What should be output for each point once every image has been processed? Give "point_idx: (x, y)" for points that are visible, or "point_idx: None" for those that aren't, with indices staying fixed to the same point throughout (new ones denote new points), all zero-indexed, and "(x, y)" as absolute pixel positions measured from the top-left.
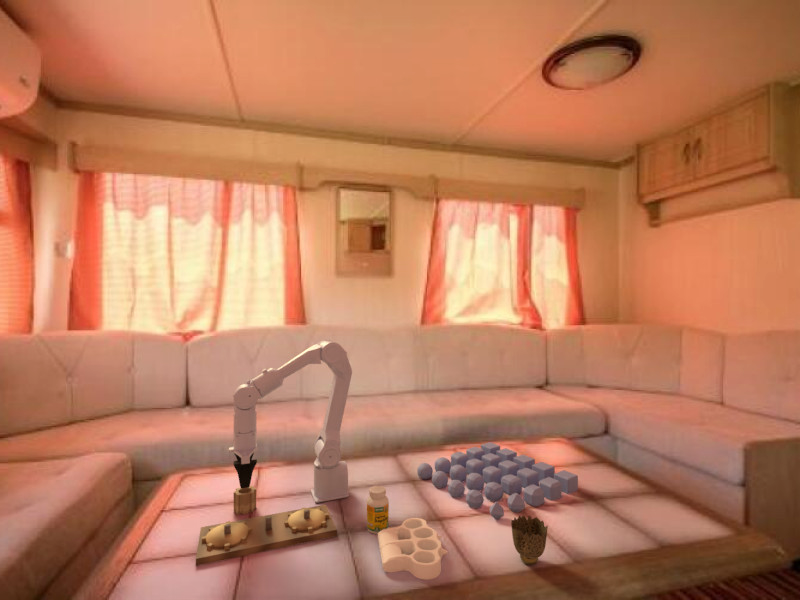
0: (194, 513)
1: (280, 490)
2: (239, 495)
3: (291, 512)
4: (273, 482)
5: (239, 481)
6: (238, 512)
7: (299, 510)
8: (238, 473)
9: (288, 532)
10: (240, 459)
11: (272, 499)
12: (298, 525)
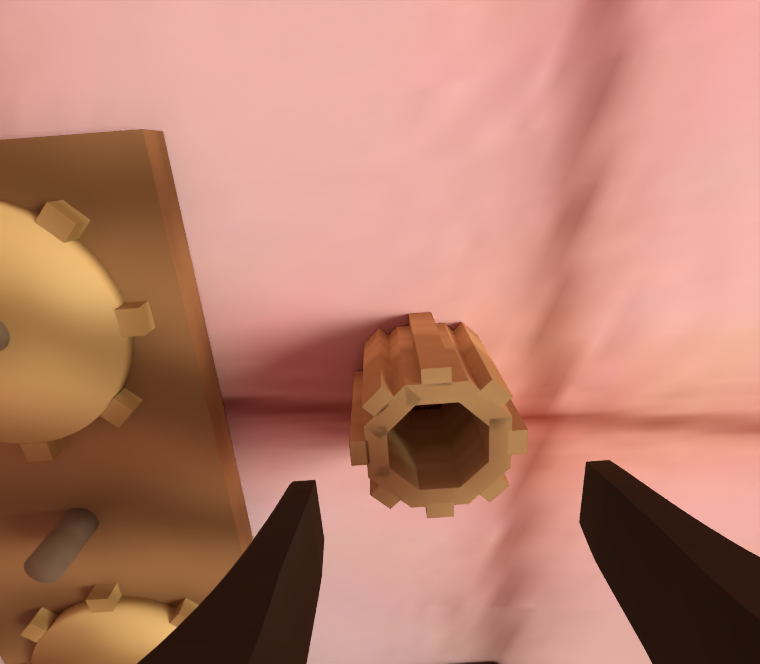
0: (488, 27)
1: None
2: (372, 410)
3: None
4: (724, 512)
5: (262, 527)
6: (366, 349)
7: None
8: (181, 627)
9: (32, 597)
10: (719, 636)
11: (491, 509)
12: (55, 647)
